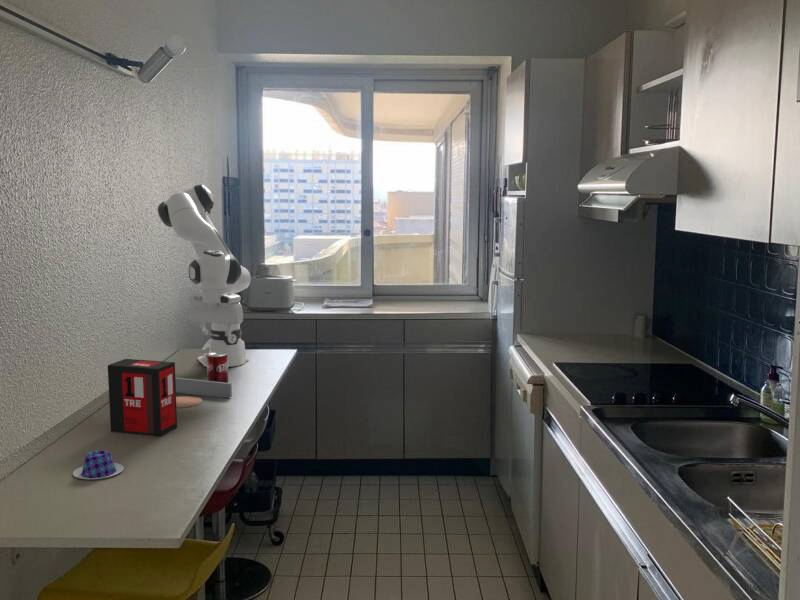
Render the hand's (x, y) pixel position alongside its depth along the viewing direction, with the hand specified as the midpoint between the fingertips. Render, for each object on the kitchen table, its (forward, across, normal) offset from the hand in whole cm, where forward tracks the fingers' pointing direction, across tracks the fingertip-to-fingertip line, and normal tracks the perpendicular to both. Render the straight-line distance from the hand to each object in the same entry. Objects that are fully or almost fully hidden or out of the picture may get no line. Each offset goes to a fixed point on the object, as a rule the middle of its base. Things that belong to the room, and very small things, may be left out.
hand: (216, 335), depth 286 cm
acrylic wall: (+19, 0, -11) cm, 22 cm away
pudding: (+20, +19, -83) cm, 88 cm away
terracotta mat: (+19, 0, -21) cm, 28 cm away
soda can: (+19, 0, 0) cm, 19 cm away
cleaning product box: (+19, +7, -50) cm, 54 cm away
